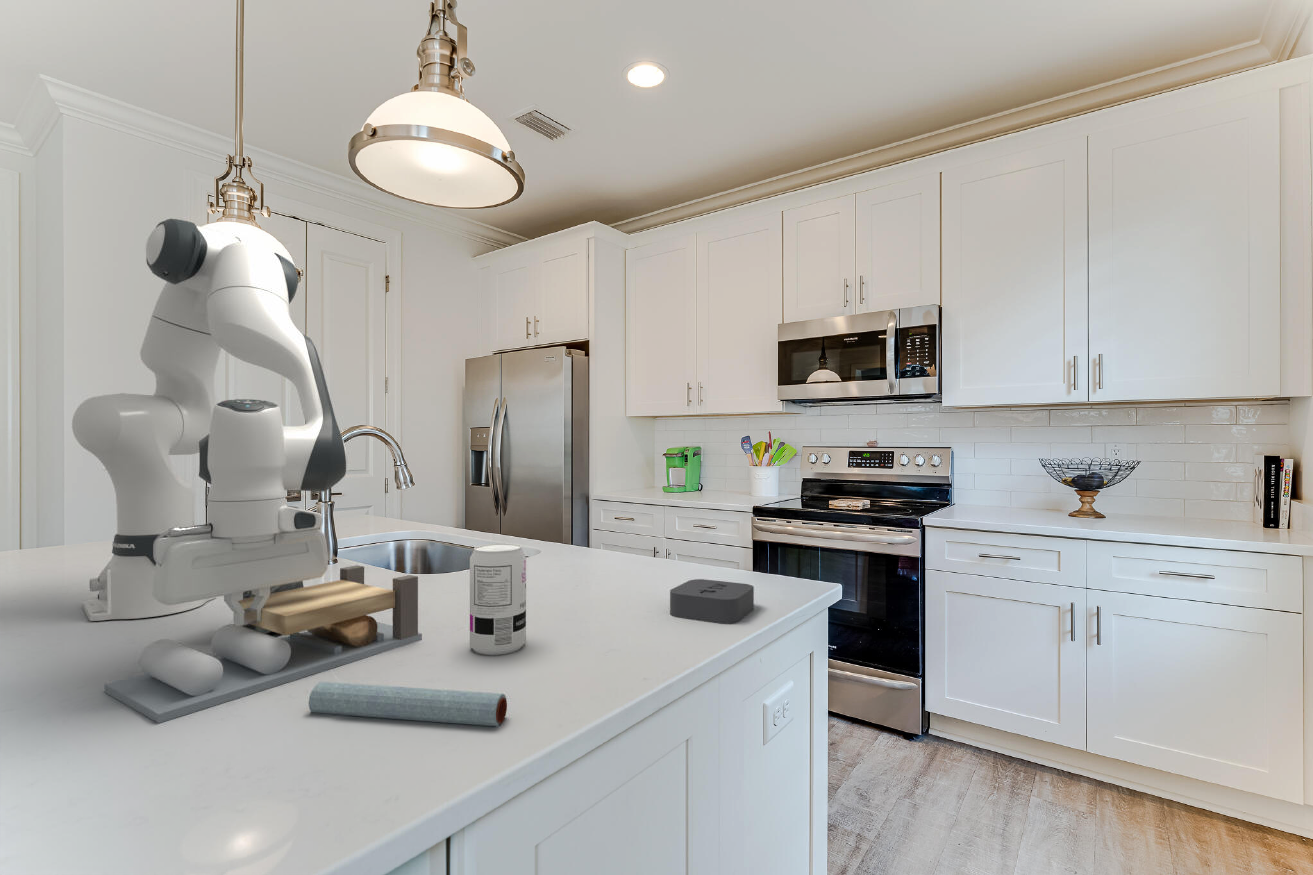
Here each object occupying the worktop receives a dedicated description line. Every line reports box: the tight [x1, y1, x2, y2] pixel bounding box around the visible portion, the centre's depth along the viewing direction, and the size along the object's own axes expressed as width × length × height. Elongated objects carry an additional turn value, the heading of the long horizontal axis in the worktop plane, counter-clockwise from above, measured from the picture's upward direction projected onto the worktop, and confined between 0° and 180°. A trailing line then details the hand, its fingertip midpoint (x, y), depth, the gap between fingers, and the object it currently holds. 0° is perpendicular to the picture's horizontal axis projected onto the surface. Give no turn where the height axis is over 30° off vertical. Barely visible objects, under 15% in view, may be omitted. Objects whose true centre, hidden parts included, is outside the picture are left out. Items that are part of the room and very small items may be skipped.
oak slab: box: [238, 579, 395, 636], centre depth 92 cm, size 14×16×2 cm
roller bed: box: [104, 564, 423, 724], centre depth 88 cm, size 16×34×10 cm, turn 147°
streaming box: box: [669, 578, 755, 625], centre depth 114 cm, size 13×13×5 cm
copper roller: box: [306, 615, 378, 647], centre depth 95 cm, size 12×4×4 cm, turn 58°
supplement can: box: [469, 542, 527, 656], centre depth 95 cm, size 8×8×15 cm
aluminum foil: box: [308, 681, 508, 727], centre depth 70 cm, size 23×7×3 cm, turn 81°
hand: (247, 623), depth 84 cm, fingers closed
